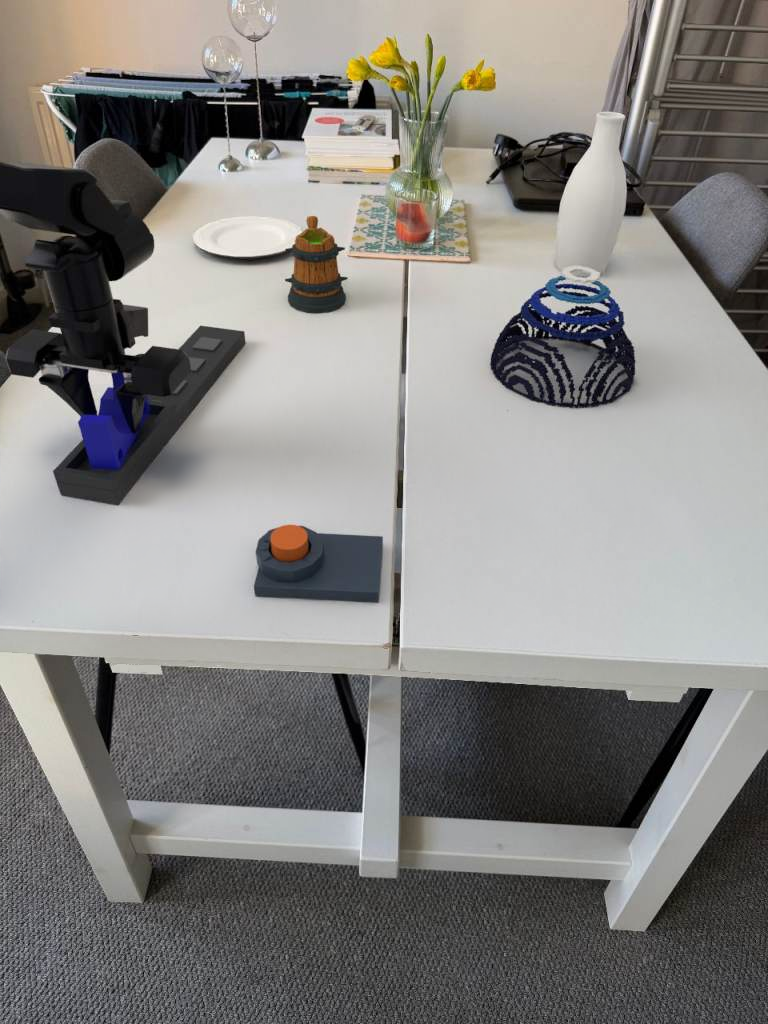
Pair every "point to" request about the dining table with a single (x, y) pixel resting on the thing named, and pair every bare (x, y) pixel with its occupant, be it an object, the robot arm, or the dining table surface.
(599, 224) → the bottle
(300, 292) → the mug
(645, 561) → the dining table surface
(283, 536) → the power button
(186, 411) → the power strip
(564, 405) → the decorative bowl
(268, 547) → the switch block
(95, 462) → the cable clip
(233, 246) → the plate
